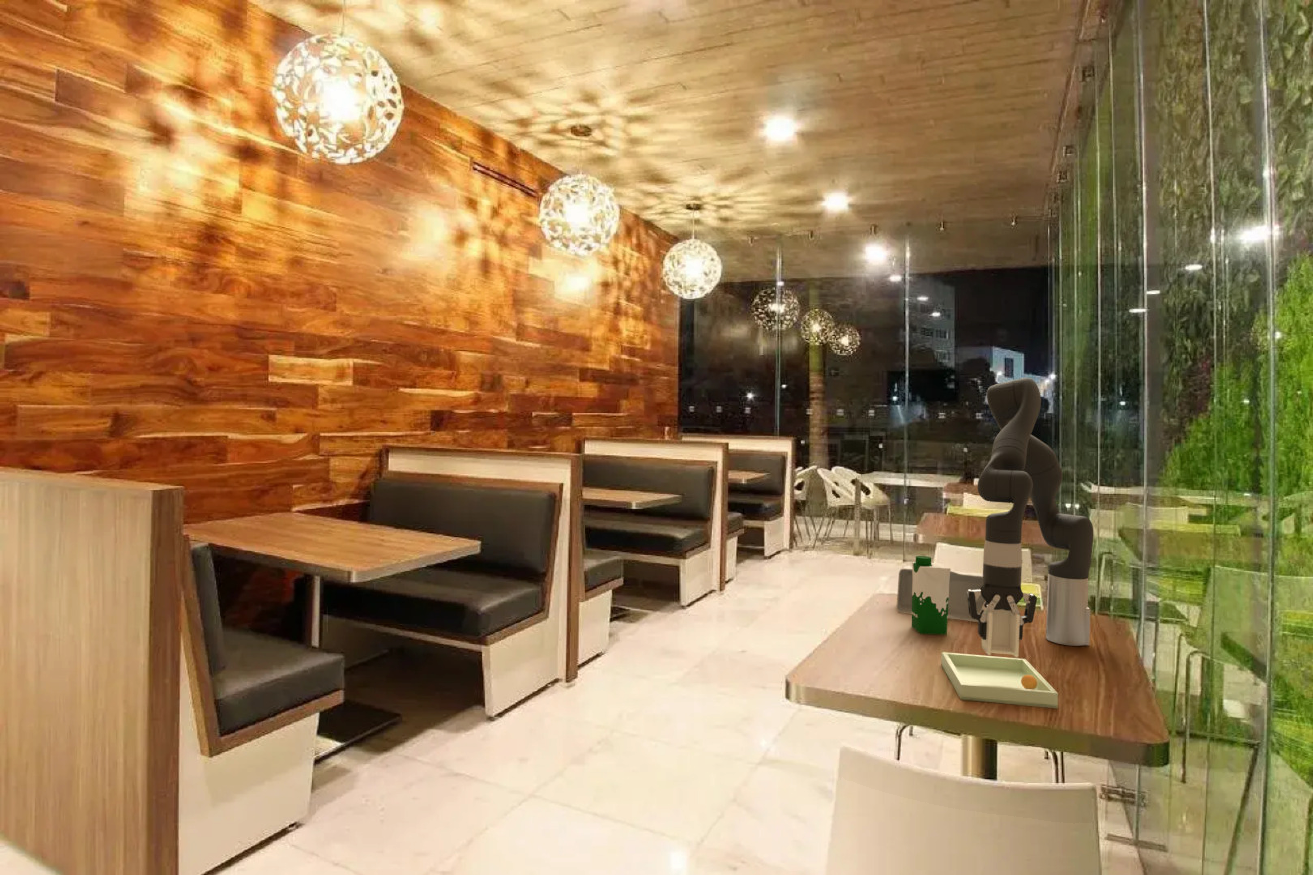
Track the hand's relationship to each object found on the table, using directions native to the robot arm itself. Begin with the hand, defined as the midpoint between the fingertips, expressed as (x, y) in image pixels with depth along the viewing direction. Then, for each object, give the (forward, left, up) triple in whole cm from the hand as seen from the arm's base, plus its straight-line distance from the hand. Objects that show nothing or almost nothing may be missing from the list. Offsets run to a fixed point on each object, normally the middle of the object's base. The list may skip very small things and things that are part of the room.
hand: (999, 639), depth 158 cm
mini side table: (0, 0, -3) cm, 3 cm away
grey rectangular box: (0, -64, -10) cm, 65 cm away
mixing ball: (-5, +4, -7) cm, 10 cm away
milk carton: (+8, -40, -10) cm, 42 cm away
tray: (+1, +1, -10) cm, 10 cm away
